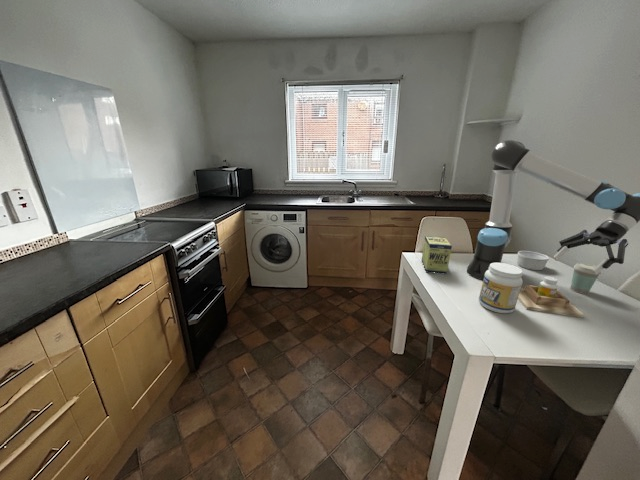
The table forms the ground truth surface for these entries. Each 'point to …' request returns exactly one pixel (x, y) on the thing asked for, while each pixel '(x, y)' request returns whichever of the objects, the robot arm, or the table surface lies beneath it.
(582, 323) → the table surface
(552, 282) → the supplement bottle
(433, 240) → the protein box
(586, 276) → the coffee cup
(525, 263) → the ramekin
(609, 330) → the table surface
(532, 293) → the birch rack
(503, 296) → the supplement tub
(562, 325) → the table surface
